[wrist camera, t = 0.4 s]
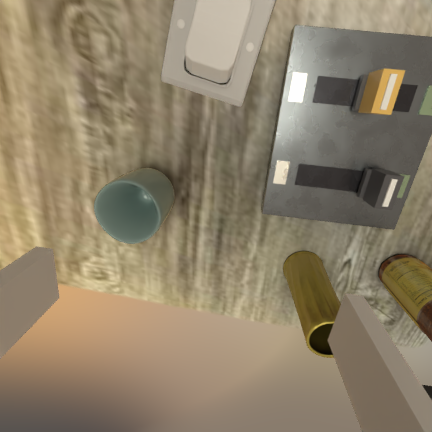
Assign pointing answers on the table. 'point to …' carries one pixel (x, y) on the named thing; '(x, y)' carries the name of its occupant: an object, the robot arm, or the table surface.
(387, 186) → the lever
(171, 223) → the table surface
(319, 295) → the vase
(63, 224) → the table surface
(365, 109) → the lever
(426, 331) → the sauce bottle
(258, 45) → the light switch
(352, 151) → the breaker panel
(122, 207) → the cup
